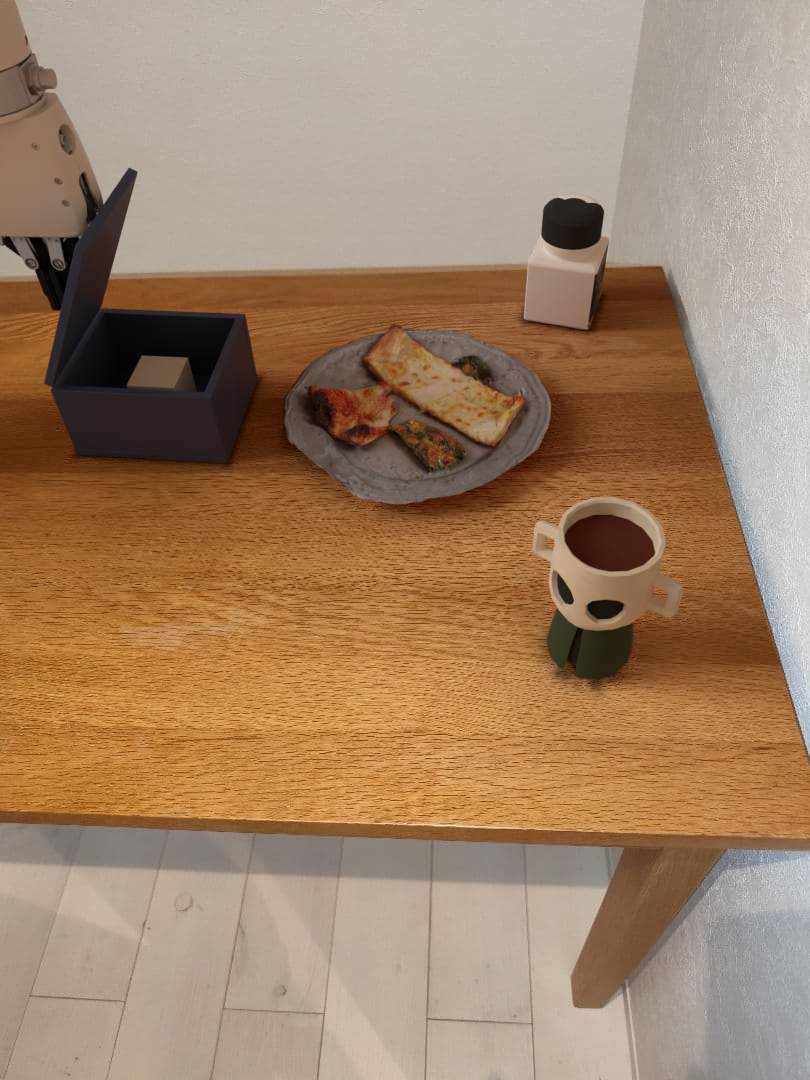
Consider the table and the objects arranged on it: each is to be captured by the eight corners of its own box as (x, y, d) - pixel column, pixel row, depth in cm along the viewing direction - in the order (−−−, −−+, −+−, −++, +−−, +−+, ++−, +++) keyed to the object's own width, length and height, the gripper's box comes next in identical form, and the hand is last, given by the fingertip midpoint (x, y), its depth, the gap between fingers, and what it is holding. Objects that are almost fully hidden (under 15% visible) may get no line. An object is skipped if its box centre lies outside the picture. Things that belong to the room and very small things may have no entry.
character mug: (501, 648, 68) (510, 534, 58) (547, 587, 72) (562, 470, 62) (633, 718, 64) (666, 608, 54) (674, 649, 67) (712, 534, 58)
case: (258, 378, 91) (245, 313, 85) (227, 464, 83) (210, 398, 77) (121, 372, 93) (99, 307, 87) (77, 455, 84) (49, 389, 78)
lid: (138, 171, 76) (129, 166, 75) (85, 250, 67) (75, 245, 67) (101, 305, 86) (93, 302, 86) (52, 387, 78) (43, 383, 78)
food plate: (241, 414, 87) (235, 385, 85) (419, 318, 97) (418, 290, 94) (409, 556, 74) (407, 528, 72) (595, 429, 84) (599, 400, 81)
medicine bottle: (588, 331, 94) (603, 226, 85) (522, 321, 96) (530, 216, 87) (601, 295, 99) (616, 191, 90) (537, 285, 101) (547, 183, 92)
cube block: (138, 423, 86) (126, 385, 82) (153, 393, 89) (141, 355, 85) (185, 425, 85) (174, 387, 82) (198, 395, 88) (188, 357, 85)
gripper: (102, 65, 67) (162, 281, 81) (-84, 64, 68) (5, 276, 82) (66, 108, 62) (136, 330, 76) (-134, 106, 64) (-30, 324, 77)
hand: (68, 301), depth 79 cm, fingers closed
